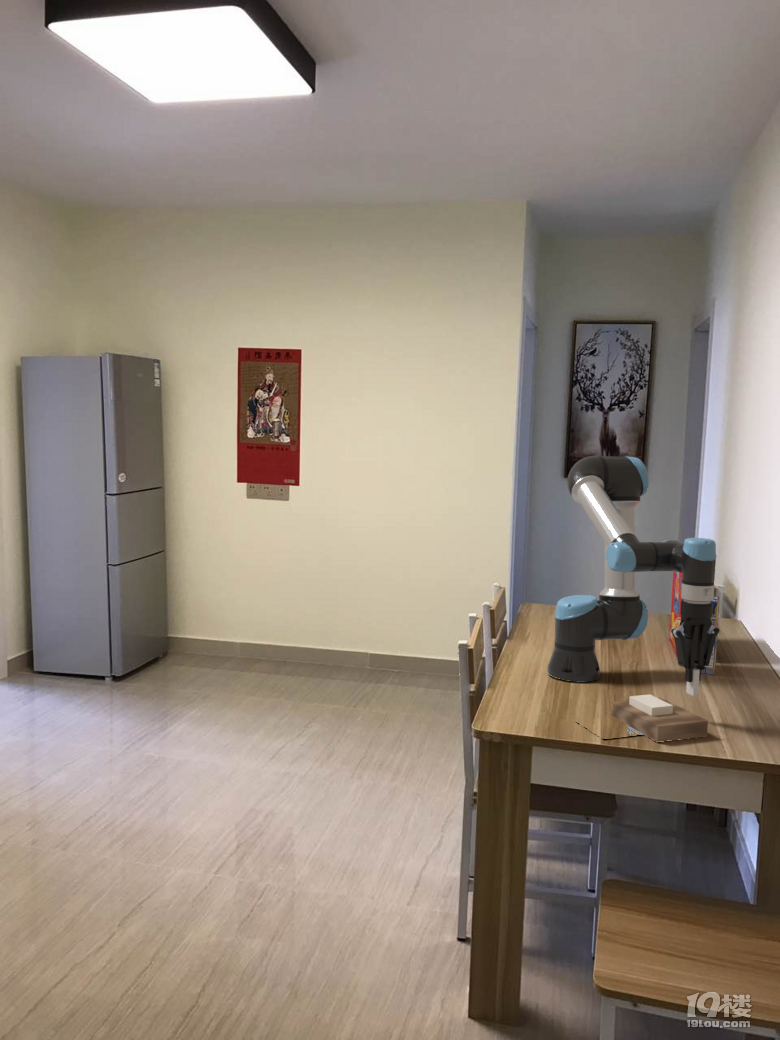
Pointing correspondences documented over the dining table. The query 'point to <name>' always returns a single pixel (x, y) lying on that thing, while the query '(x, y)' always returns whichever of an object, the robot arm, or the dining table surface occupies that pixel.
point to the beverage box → (711, 667)
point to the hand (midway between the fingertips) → (692, 694)
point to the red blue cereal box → (675, 605)
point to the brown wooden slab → (662, 722)
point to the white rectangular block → (651, 705)
